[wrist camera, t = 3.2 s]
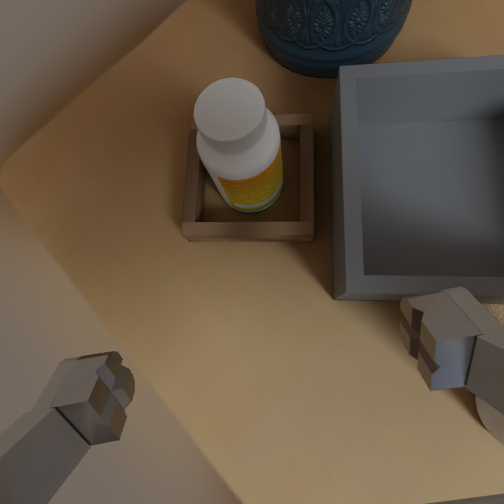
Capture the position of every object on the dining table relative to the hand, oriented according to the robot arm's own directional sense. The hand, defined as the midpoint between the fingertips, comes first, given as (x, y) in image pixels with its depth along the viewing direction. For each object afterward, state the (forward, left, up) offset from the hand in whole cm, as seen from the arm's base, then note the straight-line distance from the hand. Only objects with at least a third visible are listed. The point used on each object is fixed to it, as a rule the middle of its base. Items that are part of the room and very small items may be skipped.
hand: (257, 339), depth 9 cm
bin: (-11, -10, -15) cm, 21 cm away
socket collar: (+3, -12, -15) cm, 19 cm away
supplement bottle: (+3, -12, -15) cm, 20 cm away
